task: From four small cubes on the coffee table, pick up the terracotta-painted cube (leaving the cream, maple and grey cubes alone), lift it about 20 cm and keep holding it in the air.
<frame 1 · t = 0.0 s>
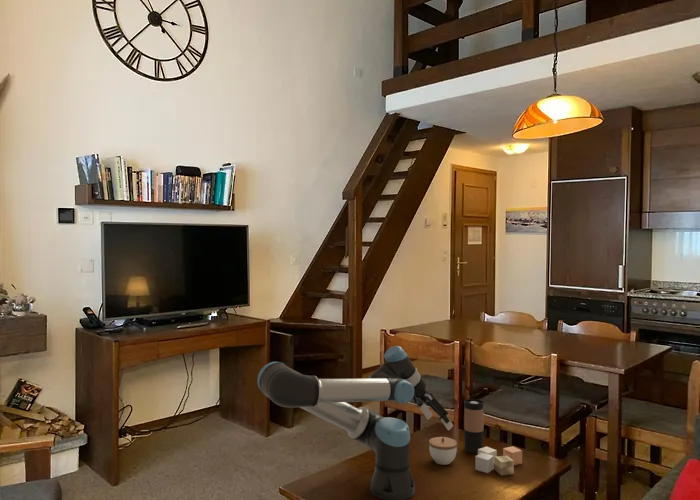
hand: (440, 422, 212), 15 cm above the table, tool tilted 35°, fingers open, 13 cm apart
cube grey: (484, 469, 205), on the table
cube terracotta: (512, 462, 212), on the table
cube maple: (504, 472, 203), on the table
lidded jar: (442, 462, 212), on the table
cube cream: (487, 462, 211), on the table
travel mug: (473, 450, 223), on the table
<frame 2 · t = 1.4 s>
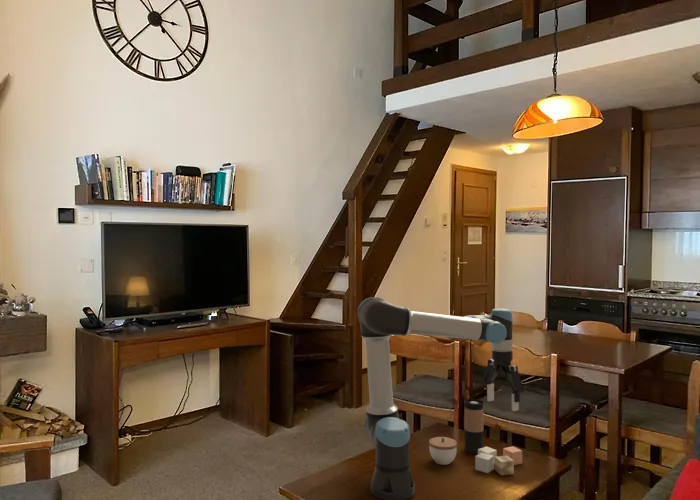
hand: (502, 405, 208), 23 cm above the table, tool pointing down, fingers open, 13 cm apart
nothing on the table moved.
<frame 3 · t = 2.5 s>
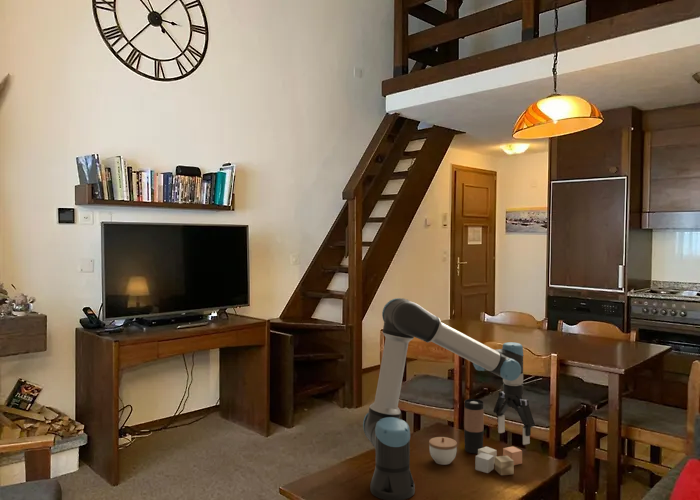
hand: (513, 438, 212), 9 cm above the table, tool pointing down, fingers open, 13 cm apart
nothing on the table moved.
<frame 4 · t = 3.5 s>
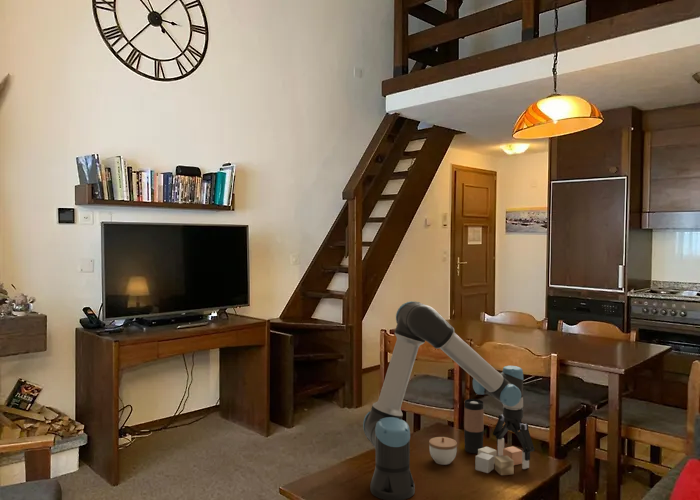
hand: (512, 461, 212), 0 cm above the table, tool pointing down, fingers open, 13 cm apart
nothing on the table moved.
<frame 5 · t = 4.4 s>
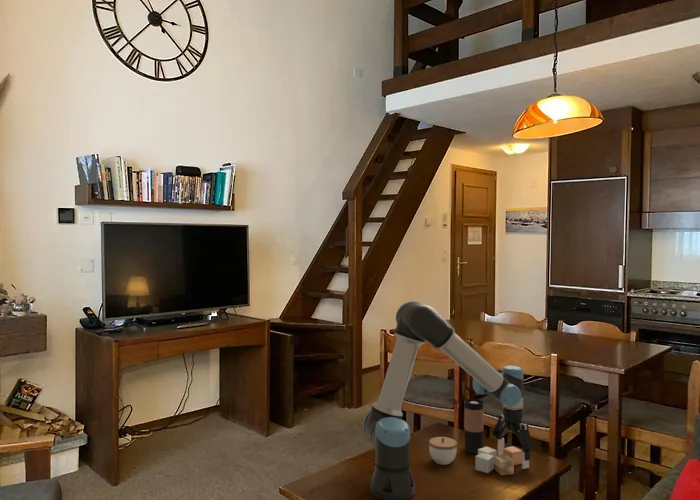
hand: (512, 461, 212), 0 cm above the table, tool pointing down, fingers open, 13 cm apart
nothing on the table moved.
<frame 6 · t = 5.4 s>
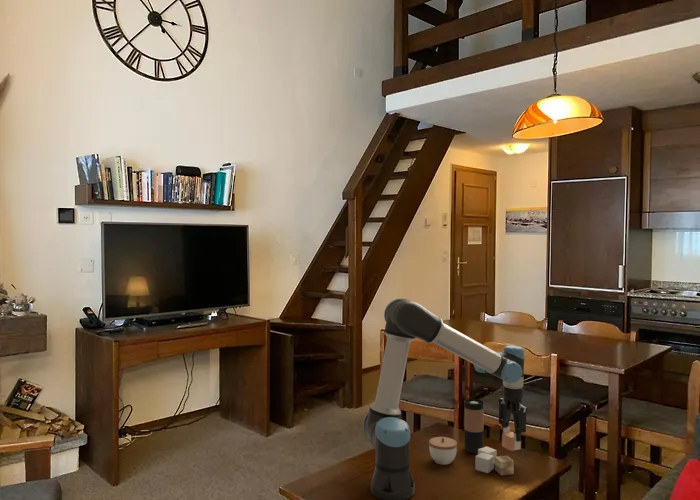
hand: (511, 446, 211), 6 cm above the table, tool pointing down, fingers closed on cube terracotta, 5 cm apart
cube terracotta: (511, 447, 211), point 6 cm above the table, touching gripper
everything else where it was.
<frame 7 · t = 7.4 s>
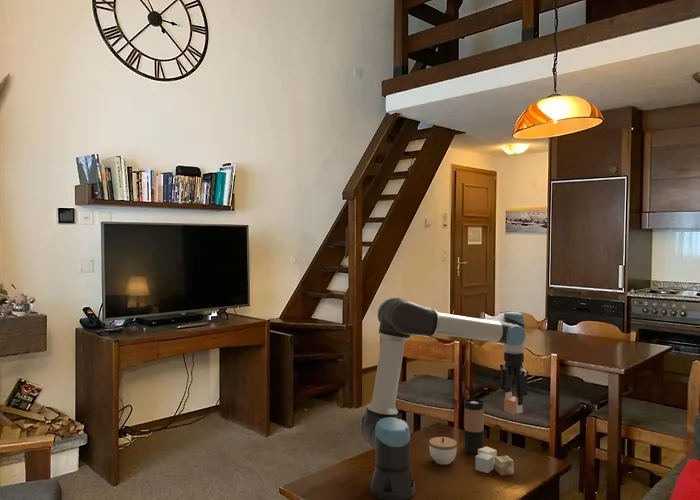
hand: (513, 410, 215), 19 cm above the table, tool pointing down, fingers closed on cube terracotta, 5 cm apart
cube terracotta: (513, 411, 215), point 18 cm above the table, touching gripper
everything else where it was.
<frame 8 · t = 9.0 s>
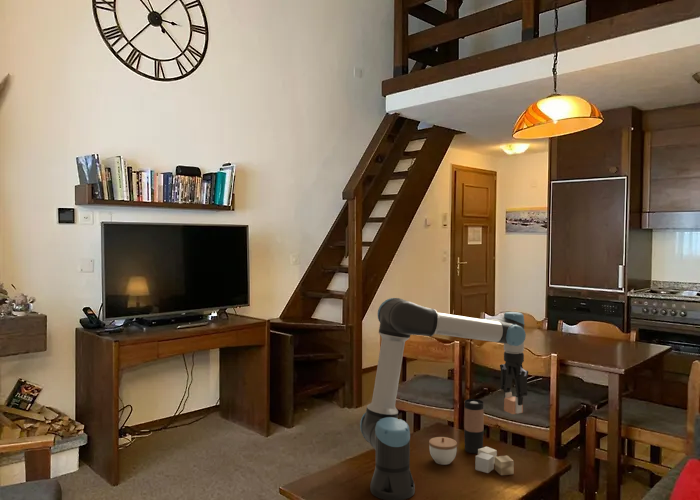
hand: (513, 410, 215), 19 cm above the table, tool pointing down, fingers closed on cube terracotta, 5 cm apart
cube terracotta: (513, 411, 215), point 18 cm above the table, touching gripper
everything else where it was.
at the end: the gripper is holding cube terracotta; cube terracotta point 18.3 cm above the table; cube cream moved 0.1 cm from its start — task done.
